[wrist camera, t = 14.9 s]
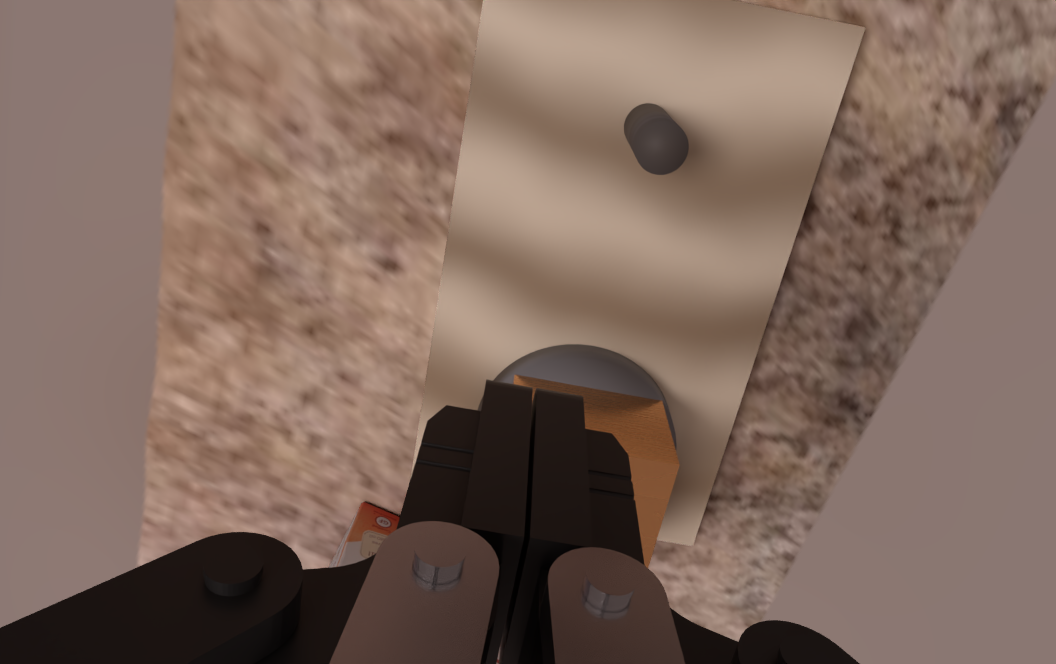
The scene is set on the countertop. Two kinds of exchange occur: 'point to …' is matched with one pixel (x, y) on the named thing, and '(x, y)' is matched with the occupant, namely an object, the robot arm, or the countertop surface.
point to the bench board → (632, 206)
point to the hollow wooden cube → (631, 447)
